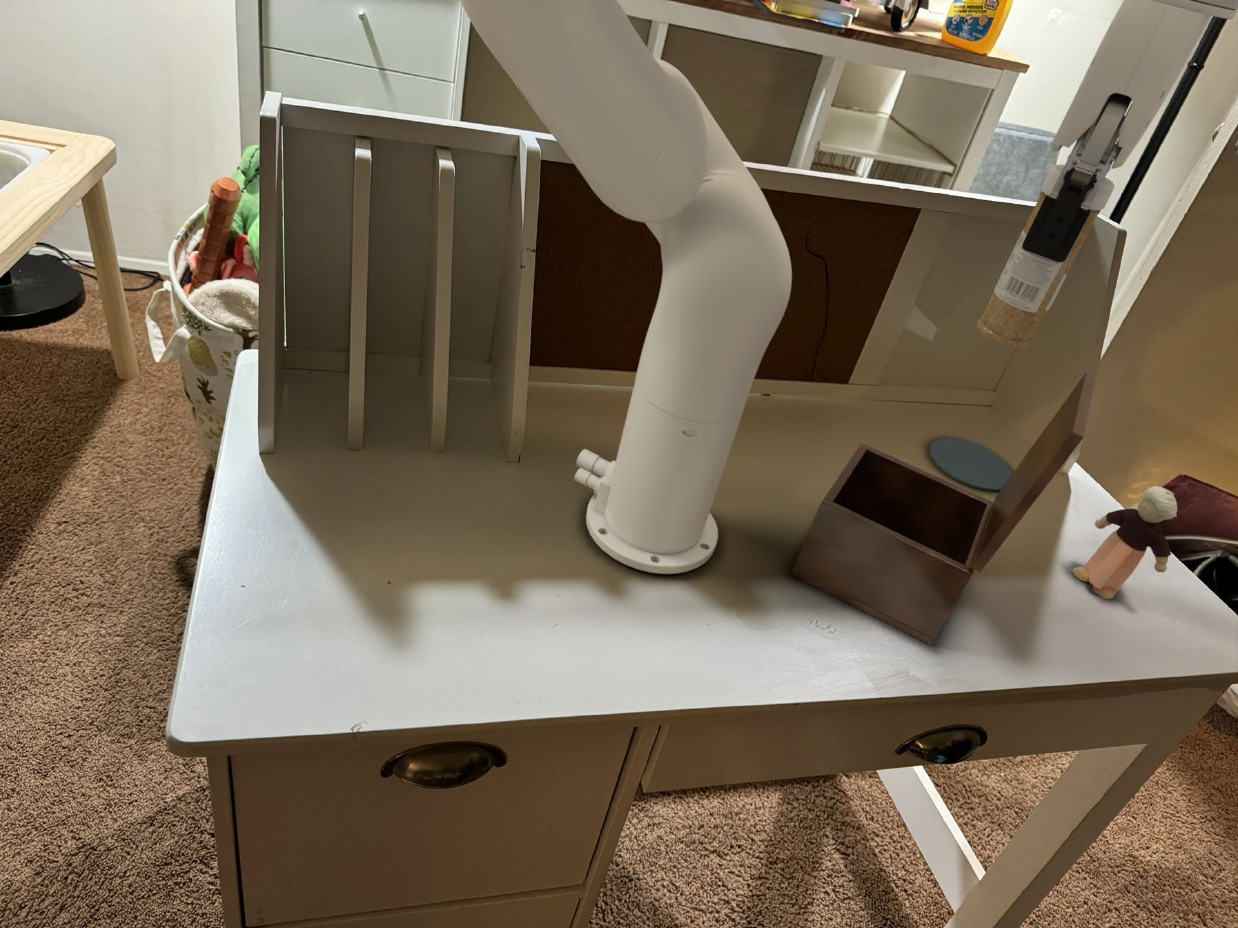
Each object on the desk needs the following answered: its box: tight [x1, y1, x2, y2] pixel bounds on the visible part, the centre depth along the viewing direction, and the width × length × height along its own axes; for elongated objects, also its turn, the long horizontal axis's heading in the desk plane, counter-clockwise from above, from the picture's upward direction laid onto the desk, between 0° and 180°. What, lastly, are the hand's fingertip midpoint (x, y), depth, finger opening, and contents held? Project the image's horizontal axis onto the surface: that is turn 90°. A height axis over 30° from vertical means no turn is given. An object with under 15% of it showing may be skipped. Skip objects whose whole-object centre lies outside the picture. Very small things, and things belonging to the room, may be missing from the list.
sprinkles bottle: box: [976, 164, 1115, 349], centre depth 67 cm, size 5×5×14 cm
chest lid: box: [971, 371, 1097, 573], centre depth 72 cm, size 14×13×1 cm
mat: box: [928, 437, 1013, 492], centre depth 104 cm, size 10×10×1 cm
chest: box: [791, 442, 994, 646], centre depth 81 cm, size 14×13×9 cm
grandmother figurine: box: [1071, 485, 1178, 600], centre depth 85 cm, size 8×4×13 cm, turn 40°
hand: (1048, 244), depth 66 cm, fingers closed on sprinkles bottle, 4 cm apart
